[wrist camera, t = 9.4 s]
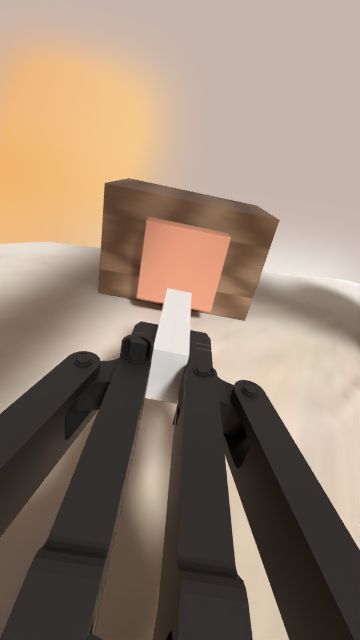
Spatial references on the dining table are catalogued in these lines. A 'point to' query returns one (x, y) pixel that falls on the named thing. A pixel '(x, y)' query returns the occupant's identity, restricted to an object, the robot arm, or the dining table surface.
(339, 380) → the dining table surface
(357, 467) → the dining table surface
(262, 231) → the block
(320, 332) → the dining table surface
